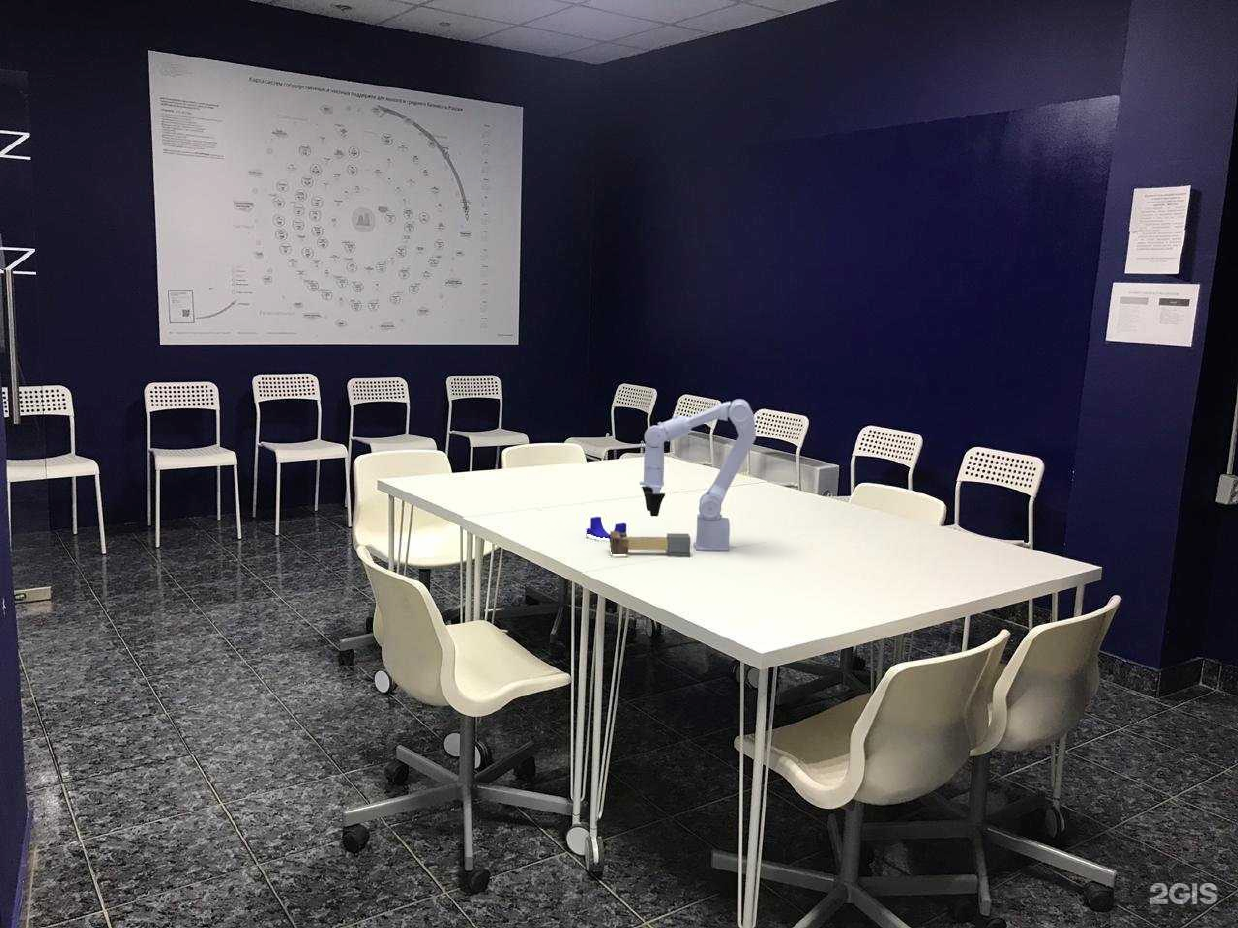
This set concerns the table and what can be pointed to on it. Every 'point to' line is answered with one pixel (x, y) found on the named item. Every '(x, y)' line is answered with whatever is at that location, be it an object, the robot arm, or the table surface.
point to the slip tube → (648, 543)
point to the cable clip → (599, 531)
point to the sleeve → (679, 545)
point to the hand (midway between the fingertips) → (652, 513)
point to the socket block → (618, 543)
